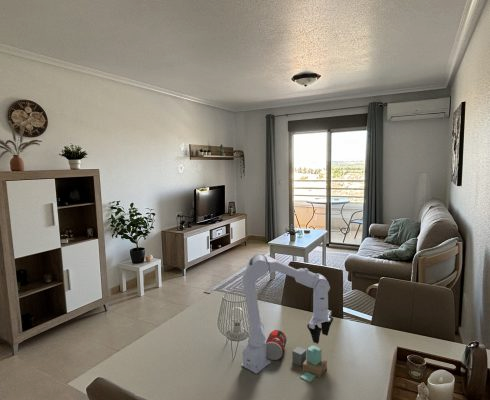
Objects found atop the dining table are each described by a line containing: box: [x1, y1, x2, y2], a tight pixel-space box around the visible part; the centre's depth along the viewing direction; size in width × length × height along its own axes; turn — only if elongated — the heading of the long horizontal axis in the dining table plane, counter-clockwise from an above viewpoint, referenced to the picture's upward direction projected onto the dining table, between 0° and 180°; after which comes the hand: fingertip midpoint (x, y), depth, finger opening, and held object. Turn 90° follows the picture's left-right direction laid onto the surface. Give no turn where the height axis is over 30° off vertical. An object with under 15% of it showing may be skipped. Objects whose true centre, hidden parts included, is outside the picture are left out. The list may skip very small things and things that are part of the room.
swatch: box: [300, 372, 316, 383], centre depth 119 cm, size 4×4×1 cm
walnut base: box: [302, 357, 328, 378], centre depth 123 cm, size 7×7×4 cm
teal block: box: [306, 344, 323, 366], centre depth 123 cm, size 4×4×5 cm
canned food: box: [266, 329, 288, 361], centre depth 135 cm, size 8×8×11 cm
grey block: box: [291, 346, 307, 367], centre depth 128 cm, size 4×4×5 cm
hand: (320, 338), depth 127 cm, fingers open, 7 cm apart
